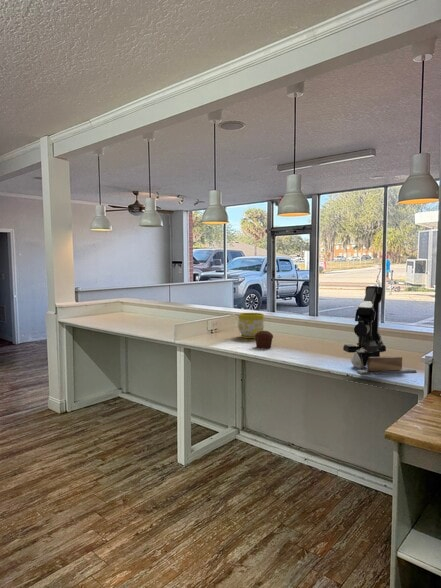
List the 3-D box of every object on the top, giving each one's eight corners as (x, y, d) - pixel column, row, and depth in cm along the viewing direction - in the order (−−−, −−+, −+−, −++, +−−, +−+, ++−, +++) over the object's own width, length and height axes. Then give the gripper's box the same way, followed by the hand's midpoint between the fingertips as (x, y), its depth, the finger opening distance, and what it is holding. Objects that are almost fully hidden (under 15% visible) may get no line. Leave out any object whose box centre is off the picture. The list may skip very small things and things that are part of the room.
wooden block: (367, 369, 195) (367, 357, 194) (398, 368, 197) (398, 355, 197) (370, 371, 192) (370, 358, 192) (401, 369, 194) (402, 357, 194)
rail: (356, 372, 195) (356, 370, 195) (411, 370, 199) (411, 368, 199) (361, 374, 191) (361, 372, 191) (416, 372, 195) (416, 370, 195)
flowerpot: (232, 336, 290) (232, 313, 289) (251, 334, 302) (251, 312, 300) (250, 340, 276) (250, 316, 275) (269, 337, 288) (269, 314, 287)
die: (350, 370, 202) (361, 356, 197) (344, 358, 209) (355, 344, 204) (363, 374, 204) (375, 361, 200) (357, 362, 211) (368, 349, 207)
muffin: (252, 348, 250) (253, 332, 250) (255, 344, 261) (255, 329, 261) (272, 349, 248) (272, 332, 247) (274, 345, 258) (274, 330, 258)
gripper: (354, 336, 183) (353, 371, 184) (393, 335, 185) (392, 369, 187) (343, 332, 194) (342, 365, 195) (380, 331, 196) (379, 363, 198)
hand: (364, 366), depth 193 cm, fingers closed
